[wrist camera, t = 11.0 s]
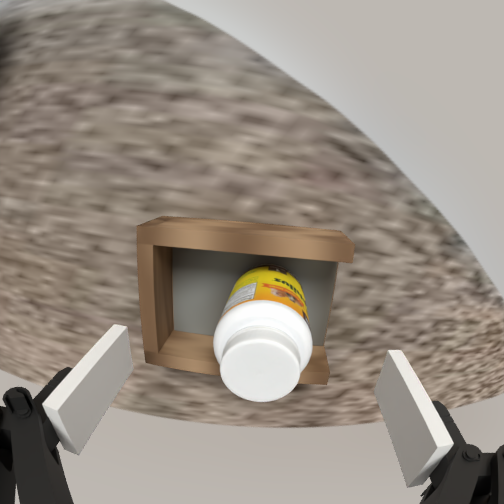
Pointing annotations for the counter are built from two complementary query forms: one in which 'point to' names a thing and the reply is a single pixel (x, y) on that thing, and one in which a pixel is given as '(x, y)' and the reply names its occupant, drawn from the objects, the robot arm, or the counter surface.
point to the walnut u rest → (226, 283)
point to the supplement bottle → (263, 334)
